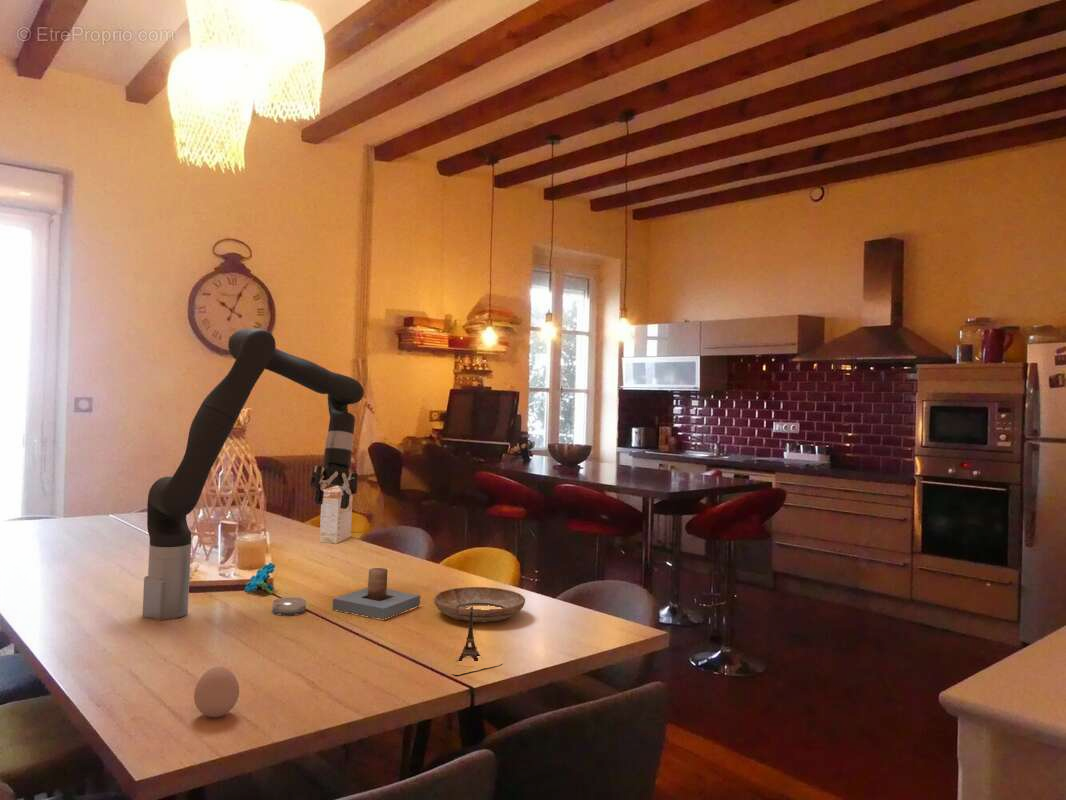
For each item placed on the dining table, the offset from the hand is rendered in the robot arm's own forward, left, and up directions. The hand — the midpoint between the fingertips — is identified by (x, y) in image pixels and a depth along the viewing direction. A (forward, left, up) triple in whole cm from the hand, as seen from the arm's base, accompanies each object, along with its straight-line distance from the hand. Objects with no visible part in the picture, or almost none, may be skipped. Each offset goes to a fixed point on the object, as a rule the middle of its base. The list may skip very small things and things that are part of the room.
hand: (331, 506), depth 219 cm
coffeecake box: (+63, +50, -24) cm, 83 cm away
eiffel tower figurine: (-27, -61, -25) cm, 71 cm away
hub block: (-4, -20, -24) cm, 32 cm away
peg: (-4, -20, -24) cm, 31 cm away
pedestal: (-19, -4, -24) cm, 31 cm away
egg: (-74, -39, -24) cm, 87 cm away
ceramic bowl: (+6, -45, -24) cm, 52 cm away
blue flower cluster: (-9, +16, -24) cm, 31 cm away
